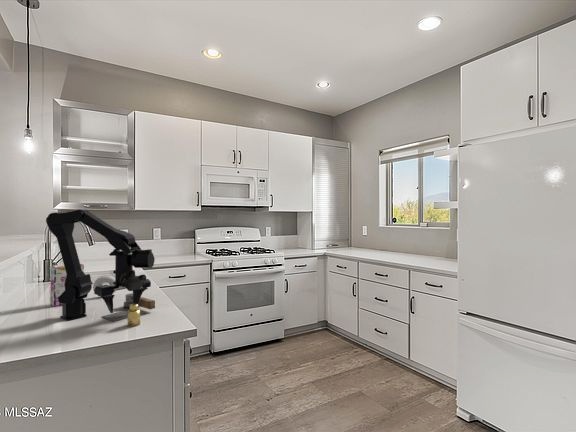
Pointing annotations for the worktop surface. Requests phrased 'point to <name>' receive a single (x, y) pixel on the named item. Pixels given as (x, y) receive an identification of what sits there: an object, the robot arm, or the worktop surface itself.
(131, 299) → the hammer
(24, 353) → the worktop surface
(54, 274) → the candy bar box
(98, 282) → the donut
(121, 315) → the rubber mat
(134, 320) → the brass calibration weight
